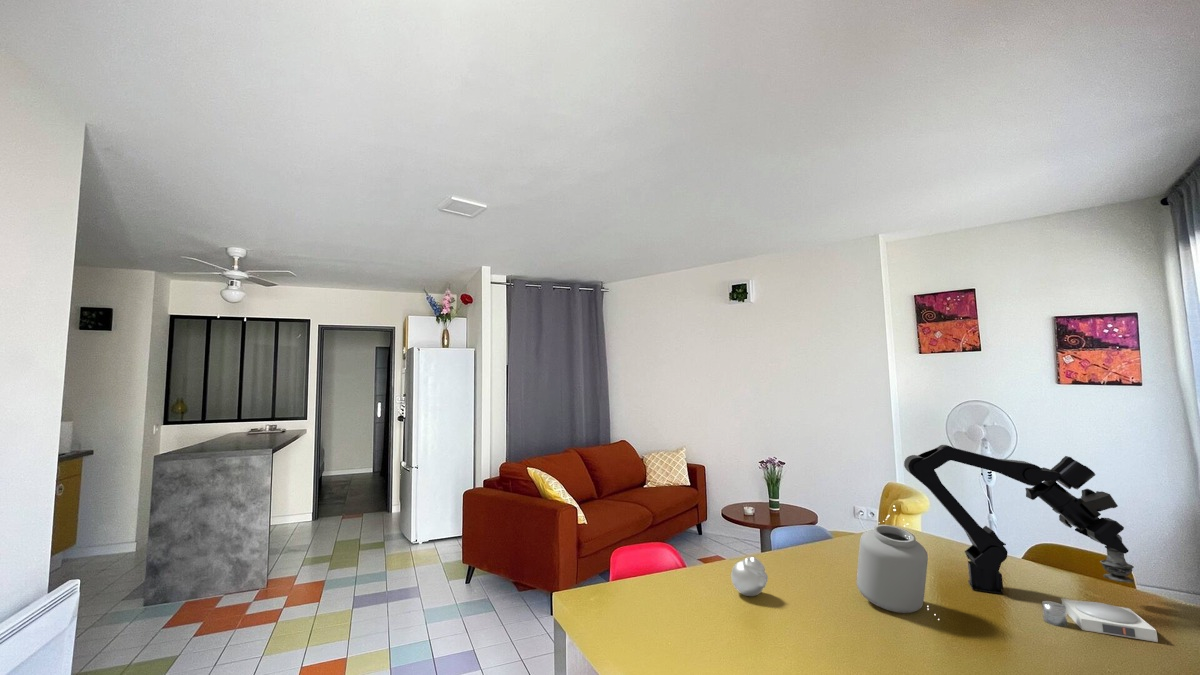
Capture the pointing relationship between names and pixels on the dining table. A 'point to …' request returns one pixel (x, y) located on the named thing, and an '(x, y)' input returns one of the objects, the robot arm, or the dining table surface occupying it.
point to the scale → (1109, 620)
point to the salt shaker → (1117, 565)
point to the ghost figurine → (749, 576)
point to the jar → (892, 569)
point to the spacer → (1054, 613)
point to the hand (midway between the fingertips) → (1122, 549)
